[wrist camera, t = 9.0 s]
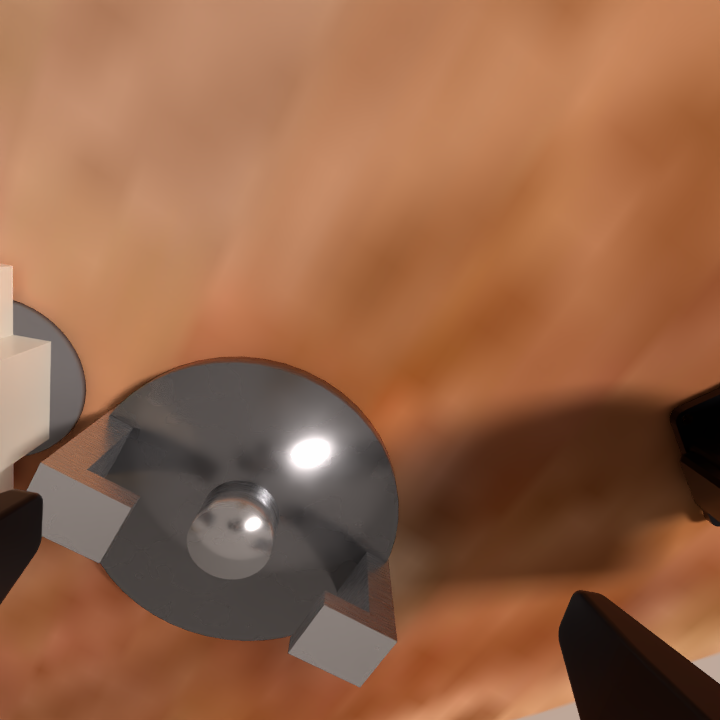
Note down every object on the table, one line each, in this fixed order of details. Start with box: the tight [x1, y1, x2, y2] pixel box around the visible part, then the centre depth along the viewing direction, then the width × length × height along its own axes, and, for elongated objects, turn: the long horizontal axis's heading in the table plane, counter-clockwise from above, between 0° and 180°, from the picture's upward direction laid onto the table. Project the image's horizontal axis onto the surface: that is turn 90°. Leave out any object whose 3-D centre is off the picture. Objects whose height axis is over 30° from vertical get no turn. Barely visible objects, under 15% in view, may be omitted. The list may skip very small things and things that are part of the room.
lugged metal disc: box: [27, 357, 398, 687], centre depth 19 cm, size 14×14×5 cm
